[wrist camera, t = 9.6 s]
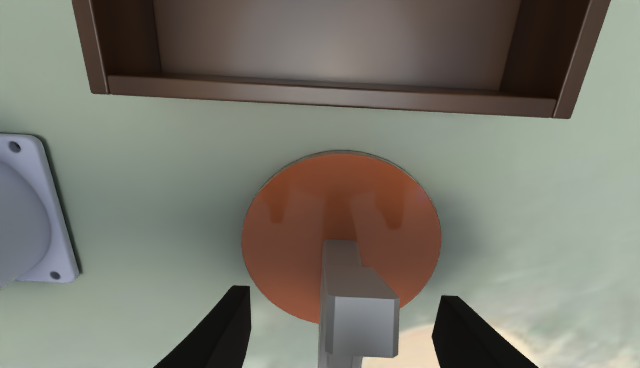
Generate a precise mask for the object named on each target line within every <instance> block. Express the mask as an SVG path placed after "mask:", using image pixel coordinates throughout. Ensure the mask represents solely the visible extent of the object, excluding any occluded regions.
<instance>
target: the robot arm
mask: <svg viewBox="0 0 640 368" xmlns="http://www.w3.org/2000/svg"><path fill="white" fill-rule="evenodd" d="M17 143H18V144H19V146H20V148H18V146H17ZM78 276H79V271H78V267H77V264H76V260H75V257H74V253H73V249H72V246H71V242H70V239H69V235H68V232H67V228H66V225H65V221H64V218H63V214H62V210H61V207H60V203H59V200H58V196H57V193H56V189H55V186H54V182H53V179H52V175H51V171H50V168H49V164H48V161H47V157H46V154H45V150H44V147H43V144H42V142H41V141H40V140H39V139H38V138H36V137H35V136H31V135H20V134H1V133H0V289H2V288H3V287H5V286H6V285H8V284H9V283H11V282H12V281H13V280H18V281H37V282H56V283H71V282H73V281H74V280H76V279H77V278H78ZM250 332H251V307H250V286H237V285H233V286H232V287H231V288H230V289H229V290H228V291H227V293H226V294H225V295H224V296H223V297H222V299H221V300H220V301H219V302H218V303H217V304H216V306H215V307H214V308H213V309H212V310H211V311H210V312H209V314H208V315H207V316H206V317H205V318H204V319H203V320H202V321H201V322H200V323H199V324H198V325H197V326H196V328H195V329H194V330H193V331H192V332H191V333H190V334H189V335H188V336H187V337H186V338H185V339H184V340H183V341H182V342H181V343H179V344H178V345H177V346H176V347H175V348H174V349H173V350H172V351H171V352H170V353H169V354H168V355H167V356H166V357H165V358H164V359H162V360H161V361H160V362H159V363H158V364H157V365H156V366H154V367H153V368H242V365H243V362H244V359H245V356H246V351H247V347H248V342H249V337H250ZM432 340H433V344H434V347H435V351H436V355H437V358H438V362H439V365H440V368H538V367H537V366H536V365H535V364H534V363H532V362H531V361H530V360H529V359H528V358H526V357H525V356H524V355H523V354H522V353H520V352H519V351H518V350H517V349H516V348H515V347H513V346H512V345H511V344H510V343H509V342H508V341H507V340H505V339H504V338H503V337H502V336H501V335H500V334H499V333H498V332H496V331H495V330H494V329H493V328H492V327H491V326H490V325H489V324H488V323H487V322H486V321H485V320H483V319H482V318H481V317H480V316H479V315H478V314H477V313H476V312H475V311H474V310H473V309H472V308H471V307H469V306H468V305H467V304H466V303H465V302H464V301H463V300H462V299H461V298H459V297H458V296H445V295H442V296H441V300H440V304H439V308H438V312H437V317H436V321H435V325H434V329H433V333H432Z"/></svg>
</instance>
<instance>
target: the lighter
mask: <svg viewBox="0 0 640 368" xmlns="http://www.w3.org/2000/svg"><path fill="white" fill-rule="evenodd" d="M399 304H400V298H399V296H398V295H397V294H396V293H395V292H394V291H393V290H392V289H391V288H390V287H389V286H388V285H387V283H386V282H385V281H384V280H383V279H382V278H381V277H380V276H379V275H378V274H377V273H376V272H375V270H374V269H373V268H370V267H363V266H362V263H361V258H360V252H359V247H358V243H357V242H356V241H353V240H333V239H326V240H325V241H324V242H323V253H322V270H321V286H320V304H319V344H318V368H361V365H362V358H363V356H364V357H384V358H393V357H395V356H397V355H398V339H399Z"/></svg>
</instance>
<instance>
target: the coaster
mask: <svg viewBox="0 0 640 368" xmlns="http://www.w3.org/2000/svg"><path fill="white" fill-rule="evenodd" d="M326 239H333V240H353V241H356V242H357V243H358V247H359V252H360V258H361V263H362V266H363V267H370V268H373V269H374V270H375V272H376V273H377V274H378V275H379V276H380V277H381V278H382V279H383V280H384V281H385V282H386V283H387V285H388V286H389V287H390V288H391V289H392V290H393V291H394V292H395V293H396V294H397V295H398V296H399V298H400V304H399V309H400V308H402V307H403V306H404V305H406V304H407V303H408V302H410V301H411V300H412V299H413V298H414V297H415V296H416V295H417V294H418V293H419V292H420V291H421V290H422V289H423V287H424V286H425V285H426V283H427V282H428V280H429V279H430V277H431V276H432V273H433V271H434V269H435V267H436V264H437V261H438V258H439V254H440V247H441V229H440V223H439V219H438V216H437V213H436V210H435V208H434V206H433V204H432V202H431V200H430V198H429V197H428V195H427V194H426V192H425V191H424V190H423V188H422V187H421V186H420V185H419V183H418V182H417V181H416V180H415V179H414V178H413V177H412V176H411V175H409V174H408V173H407V172H406V171H404V170H403V169H402V168H400V167H399V166H397V165H395V164H393V163H391V162H390V161H388V160H385V159H383V158H380V157H378V156H375V155H371V154H367V153H363V152H355V151H329V152H322V153H317V154H314V155H310V156H306V157H304V158H301V159H299V160H297V161H294V162H292V163H291V164H289V165H287V166H285V167H284V168H282V169H281V170H279V171H278V172H277V173H276V174H274V175H273V176H272V177H271V178H270V179H269V180H268V181H267V182H266V183H265V184H264V185H263V186H262V187H261V189H260V190H259V192H258V193H257V194H256V196H255V198H254V200H253V201H252V203H251V205H250V207H249V209H248V211H247V214H246V217H245V220H244V224H243V229H242V252H243V257H244V261H245V264H246V267H247V270H248V272H249V274H250V276H251V278H252V280H253V281H254V283H255V284H256V286H257V287H258V288H259V290H260V291H261V292H262V293H263V294H264V295H265V296H266V297H267V298H268V299H269V300H270V301H271V302H272V303H274V304H275V305H276V306H278V307H279V308H280V309H282V310H284V311H286V312H287V313H289V314H291V315H293V316H296V317H298V318H300V319H303V320H306V321H309V322H313V323H318V324H319V304H320V286H321V270H322V253H323V242H324V241H325V240H326Z"/></svg>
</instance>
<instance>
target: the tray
mask: <svg viewBox="0 0 640 368" xmlns="http://www.w3.org/2000/svg"><path fill="white" fill-rule="evenodd" d="M610 1H611V0H72V5H73V9H74V14H75V19H76V24H77V28H78V33H79V38H80V42H81V47H82V52H83V57H84V61H85V66H86V71H87V76H88V80H89V85H90V90H91V93H93V94H107V95H109V94H112V95H126V96H145V97H163V98H182V99H201V100H220V101H239V102H257V103H276V104H295V105H314V106H333V107H352V108H370V109H389V110H408V111H427V112H446V113H465V114H483V115H502V116H521V117H540V118H558V119H570V118H571V115H572V113H573V110H574V107H575V104H576V101H577V98H578V95H579V92H580V89H581V86H582V83H583V80H584V77H585V74H586V72H587V69H588V66H589V63H590V60H591V57H592V54H593V51H594V48H595V45H596V42H597V39H598V36H599V33H600V31H601V28H602V25H603V22H604V19H605V16H606V13H607V10H608V7H609V4H610Z"/></svg>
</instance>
